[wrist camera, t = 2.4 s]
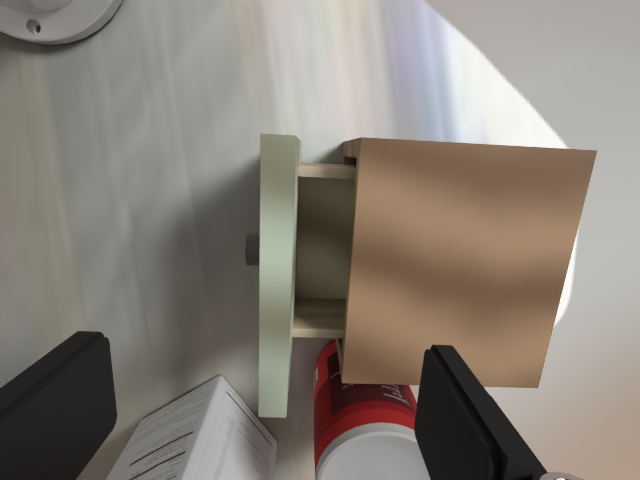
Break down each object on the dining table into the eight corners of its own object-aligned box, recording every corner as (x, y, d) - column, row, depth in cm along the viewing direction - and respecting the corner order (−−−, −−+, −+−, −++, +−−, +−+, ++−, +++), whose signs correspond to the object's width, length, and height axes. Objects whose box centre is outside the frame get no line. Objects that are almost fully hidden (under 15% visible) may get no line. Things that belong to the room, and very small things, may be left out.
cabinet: (343, 141, 25) (361, 137, 17) (500, 150, 26) (597, 150, 17) (332, 313, 29) (341, 383, 20) (470, 317, 29) (537, 387, 21)
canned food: (348, 421, 32) (368, 557, 21) (294, 363, 30) (286, 479, 19) (416, 376, 31) (472, 495, 20) (364, 313, 29) (396, 407, 18)
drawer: (260, 140, 25) (220, 131, 14) (443, 150, 25) (550, 149, 14) (259, 310, 28) (226, 416, 17) (420, 316, 29) (492, 421, 18)
